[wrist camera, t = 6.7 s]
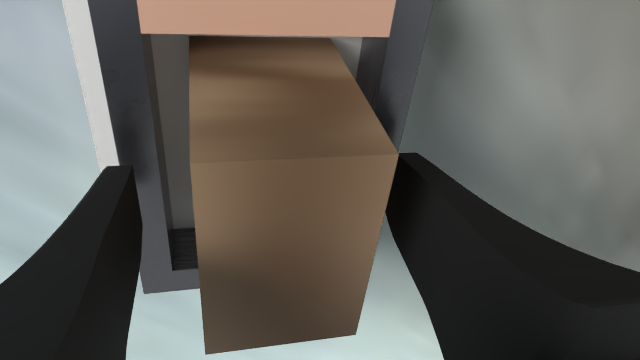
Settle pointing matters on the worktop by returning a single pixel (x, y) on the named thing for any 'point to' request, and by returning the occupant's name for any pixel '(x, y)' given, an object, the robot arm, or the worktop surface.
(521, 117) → the worktop surface
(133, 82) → the grey tray
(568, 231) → the worktop surface
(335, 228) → the plug block
